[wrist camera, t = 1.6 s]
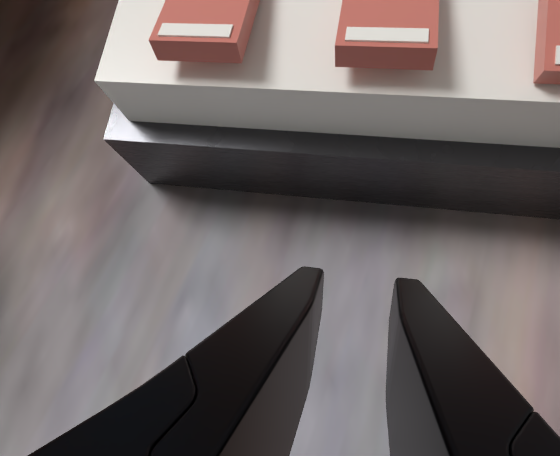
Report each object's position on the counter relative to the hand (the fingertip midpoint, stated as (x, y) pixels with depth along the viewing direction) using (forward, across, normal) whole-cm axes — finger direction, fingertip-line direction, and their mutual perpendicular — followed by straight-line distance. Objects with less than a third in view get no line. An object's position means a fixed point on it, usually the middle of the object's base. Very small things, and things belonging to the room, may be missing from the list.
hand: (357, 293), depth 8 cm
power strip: (+14, 0, -2) cm, 14 cm away
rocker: (+11, +6, -4) cm, 13 cm away
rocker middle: (+11, 0, -4) cm, 11 cm away
